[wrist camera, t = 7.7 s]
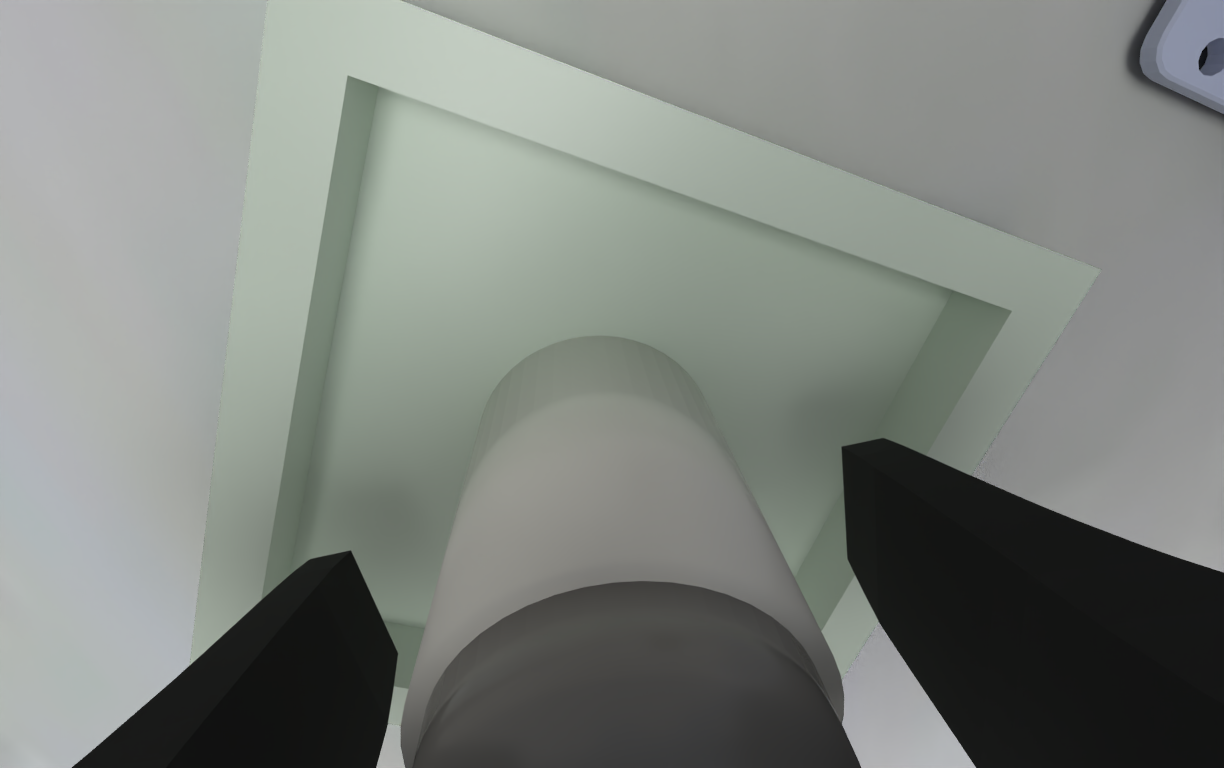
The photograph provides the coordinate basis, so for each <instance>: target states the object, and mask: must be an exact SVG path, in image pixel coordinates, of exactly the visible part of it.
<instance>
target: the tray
mask: <svg viewBox="0 0 1224 768" xmlns="http://www.w3.org/2000/svg"><path fill="white" fill-rule="evenodd" d="M1100 272H1101V269H1099V268H1096V267H1094V266H1091V265H1088V264H1086V263H1083V262H1081V261H1078V260H1075V259H1073V258H1070V257H1068V256H1065V255H1062V254H1060V253H1057V252H1055V251H1052V250H1049V249H1047V248H1044V247H1042V246H1039V245H1036V244H1034V243H1031V242H1029V241H1026V240H1023V239H1021V238H1018V237H1016V236H1013V235H1010V234H1008V233H1005V232H1003V231H1000V230H997V229H995V228H992V227H989V226H987V225H984V224H982V223H979V222H976V221H974V220H971V219H969V218H966V217H963V216H961V215H958V214H956V213H953V212H950V211H948V210H945V209H943V208H940V207H937V206H935V205H932V204H930V203H927V202H924V201H922V200H919V199H917V198H914V197H911V196H909V195H906V194H904V193H901V192H898V191H896V190H893V189H891V188H888V187H885V186H883V185H880V184H878V183H875V182H872V181H870V180H867V179H865V178H862V177H859V176H857V175H854V174H851V173H849V172H846V171H844V170H841V169H838V168H836V167H833V166H831V165H828V164H825V163H823V162H820V161H818V160H815V159H812V158H810V157H807V156H805V155H802V154H799V153H797V152H794V151H792V150H789V149H786V148H784V147H781V146H779V145H776V144H773V143H771V142H768V141H766V140H763V139H760V138H758V137H755V136H753V135H750V134H747V133H745V132H742V131H740V130H737V129H734V128H732V127H729V126H727V125H724V124H721V123H719V122H716V121H713V120H711V119H708V118H706V117H703V116H700V115H698V114H695V113H693V112H690V111H687V110H685V109H682V108H680V107H677V106H674V105H672V104H669V103H667V102H664V101H661V100H659V99H656V98H654V97H651V96H648V95H646V94H643V93H641V92H638V91H635V90H633V89H630V88H628V87H625V86H622V85H620V84H617V83H615V82H612V81H609V80H607V79H604V78H602V77H599V76H596V75H594V74H591V73H589V72H586V71H583V70H581V69H578V68H575V67H573V66H570V65H568V64H565V63H562V62H560V61H557V60H555V59H552V58H549V57H547V56H544V55H542V54H539V53H536V52H534V51H531V50H529V49H526V48H523V47H521V46H518V45H516V44H513V43H510V42H508V41H505V40H503V39H500V38H497V37H495V36H492V35H490V34H487V33H484V32H482V31H479V30H477V29H474V28H471V27H469V26H466V25H464V24H461V23H458V22H456V21H453V20H451V19H448V18H445V17H443V16H440V15H437V14H435V13H432V12H430V11H427V10H424V9H422V8H419V7H417V6H414V5H411V4H409V3H406V2H404V1H401V0H267V7H266V16H265V24H264V33H263V42H262V50H261V59H260V67H259V76H258V84H257V93H256V101H255V110H254V118H253V127H252V136H251V144H250V153H249V161H248V170H247V178H246V187H245V195H244V204H243V212H242V221H241V230H240V238H239V247H238V255H237V264H236V272H235V281H234V289H233V298H232V306H231V315H230V323H229V332H228V341H227V349H226V358H225V366H224V375H223V383H222V392H221V400H220V409H219V417H218V426H217V435H216V443H215V452H214V460H213V469H212V477H211V486H210V494H209V503H208V511H207V520H206V529H205V537H204V546H203V554H202V563H201V571H200V580H199V588H198V597H197V605H196V614H195V622H194V631H193V640H192V648H191V657H190V665H191V664H192V663H193V662H194V661H195V660H196V659H197V658H199V657H200V656H201V655H202V654H203V653H204V652H205V651H206V650H207V649H208V648H209V647H211V646H212V645H213V644H214V643H215V642H216V641H217V640H218V639H219V638H220V637H222V636H223V635H224V634H225V633H226V632H227V631H228V630H229V629H230V628H231V627H232V626H234V625H235V624H236V623H237V622H238V621H239V620H240V619H241V618H242V617H243V616H244V615H246V614H247V613H248V612H249V611H250V610H251V609H252V608H253V607H254V606H255V605H256V604H258V603H259V602H260V601H261V600H262V599H263V598H264V597H265V596H266V595H268V594H269V593H270V592H271V591H272V590H273V589H274V588H275V587H276V586H278V585H279V584H280V583H281V582H282V581H283V580H285V579H286V578H287V577H288V576H289V575H290V574H292V573H293V572H294V571H295V570H296V569H298V568H299V567H300V566H302V565H303V564H304V563H305V562H307V561H308V560H309V559H312V558H317V557H322V556H326V555H331V554H336V553H341V552H345V551H350V550H351V551H352V554H353V556H354V558H355V560H356V562H357V564H358V567H359V569H360V571H361V573H362V575H363V578H364V580H365V582H366V584H367V586H368V588H369V591H370V593H371V595H372V597H373V599H374V602H375V604H376V606H377V608H378V610H379V612H380V615H381V617H382V619H383V621H384V623H385V626H386V628H387V630H388V632H389V634H390V636H391V639H392V641H393V643H394V645H395V647H396V650H397V652H398V659H397V666H396V674H395V682H394V689H393V696H392V702H391V708H390V714H389V720H388V724H392V725H399V726H401V721H402V715H403V710H404V704H405V700H406V697H407V693H408V689H409V686H410V682H411V678H412V674H413V671H414V667H415V663H416V659H417V656H418V652H419V648H420V644H421V641H422V637H423V633H424V630H425V626H426V622H427V618H428V615H429V611H430V607H431V603H432V600H433V596H434V592H435V588H436V585H437V581H438V577H439V574H440V570H441V566H442V562H443V559H444V555H445V551H446V547H447V544H448V540H449V536H450V532H451V529H452V525H453V521H454V518H455V514H456V510H457V506H458V503H459V499H460V495H461V491H462V488H463V484H464V480H465V477H466V473H467V469H468V465H469V462H470V458H471V454H472V450H473V447H474V443H475V439H476V435H477V432H478V428H479V424H480V421H481V417H482V414H483V411H484V409H485V406H486V403H487V401H488V400H489V398H490V396H491V394H492V392H493V390H494V389H495V388H496V386H497V385H498V384H499V382H500V381H501V380H502V378H503V377H504V376H505V375H506V374H507V373H508V372H509V371H510V370H511V369H512V368H513V367H514V366H516V365H517V364H518V363H519V362H521V361H522V360H523V359H525V358H526V357H528V356H529V355H531V354H533V353H535V352H536V351H538V350H540V349H542V348H544V347H547V346H549V345H551V344H554V343H557V342H560V341H564V340H568V339H572V338H578V337H585V336H612V337H621V338H625V339H630V340H634V341H637V342H640V343H643V344H646V345H648V346H651V347H653V348H655V349H657V350H658V351H660V352H662V353H664V354H666V355H667V356H668V357H670V358H671V359H673V360H674V361H676V362H677V363H678V364H679V365H680V366H681V367H682V368H683V369H684V370H685V371H686V372H687V373H688V374H689V375H690V376H691V378H692V379H693V380H694V381H695V383H696V384H697V386H698V387H699V389H700V391H701V392H702V394H703V396H704V398H705V400H706V402H707V404H708V406H709V408H710V410H711V412H712V414H713V416H714V418H715V420H716V422H717V424H718V426H719V428H720V430H721V432H722V434H723V436H724V438H725V440H726V442H727V444H728V446H729V448H730V450H731V452H732V454H733V456H734V458H735V460H736V462H737V464H738V466H739V468H740V470H741V472H742V474H743V476H744V478H745V480H746V482H747V484H748V486H749V488H750V490H751V492H752V494H753V496H754V498H755V500H756V502H757V504H758V506H759V508H760V510H761V512H762V514H763V516H764V518H765V520H766V522H767V524H768V526H769V528H770V530H771V532H772V534H773V536H774V538H775V540H776V542H777V544H778V546H779V548H780V550H781V552H782V554H783V556H784V558H785V560H786V562H787V564H788V566H789V568H790V570H791V572H792V574H793V576H794V578H795V580H796V582H797V584H798V586H799V588H800V590H801V592H802V594H803V596H804V598H805V600H806V602H807V604H808V606H809V608H810V610H811V612H812V614H813V616H814V618H815V620H816V622H817V624H818V626H819V628H820V630H821V632H822V634H823V636H824V638H825V640H826V642H827V644H828V646H829V648H830V650H831V652H832V654H833V656H834V659H835V661H836V664H837V667H838V669H839V672H840V675H841V680H842V679H843V677H844V676H845V674H846V672H847V671H848V669H849V668H850V666H851V665H852V663H853V661H854V660H855V658H856V657H857V655H858V654H859V652H860V650H861V649H862V647H863V646H864V644H865V643H866V641H867V639H868V638H869V636H870V635H871V633H872V631H873V630H874V628H875V627H876V625H877V624H878V622H879V621H878V619H877V617H876V615H875V613H874V611H873V609H872V608H871V606H870V604H869V602H868V600H867V598H866V596H865V594H864V592H863V590H862V588H861V586H860V584H859V582H858V580H857V578H856V576H855V574H854V572H853V570H852V568H851V566H850V563H849V561H848V559H847V544H846V525H845V506H844V487H843V468H842V449H841V447H842V446H847V445H852V444H856V443H861V442H866V441H870V440H875V439H880V438H885V439H888V440H891V441H893V442H896V443H898V444H901V445H903V446H906V447H908V448H910V449H913V450H915V451H917V452H919V453H922V454H924V455H926V456H928V457H931V458H933V459H935V460H937V461H940V462H942V463H944V464H946V465H948V466H951V467H953V468H955V469H957V470H960V471H962V472H964V473H966V474H968V475H972V474H973V472H974V471H975V469H976V467H977V466H978V464H979V463H980V461H981V460H982V458H983V456H984V455H985V453H986V452H987V450H988V449H989V447H990V445H991V444H992V442H993V441H994V439H995V437H996V436H997V434H998V433H999V431H1000V430H1001V428H1002V426H1003V425H1004V423H1005V422H1006V420H1007V419H1008V417H1009V415H1010V414H1011V412H1012V411H1013V409H1014V408H1015V406H1016V404H1017V403H1018V401H1019V400H1020V398H1021V396H1022V395H1023V393H1024V392H1025V390H1026V389H1027V387H1028V385H1029V384H1030V382H1031V381H1032V379H1033V378H1034V376H1035V374H1036V373H1037V371H1038V370H1039V368H1040V367H1041V365H1042V363H1043V362H1044V360H1045V359H1046V357H1047V355H1048V354H1049V352H1050V351H1051V349H1052V348H1053V346H1054V344H1055V343H1056V341H1057V340H1058V338H1059V337H1060V335H1061V333H1062V332H1063V330H1064V329H1065V327H1066V326H1067V324H1068V322H1069V321H1070V319H1071V318H1072V316H1073V314H1074V313H1075V311H1076V310H1077V308H1078V307H1079V305H1080V303H1081V302H1082V300H1083V299H1084V297H1085V296H1086V294H1087V292H1088V291H1089V289H1090V288H1091V286H1092V284H1093V283H1094V281H1095V280H1096V278H1097V277H1098V275H1099V273H1100ZM190 665H189V666H190Z"/></svg>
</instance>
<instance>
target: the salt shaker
mask: <svg viewBox="0 0 1224 768" xmlns="http://www.w3.org/2000/svg"><path fill="white" fill-rule="evenodd" d="M843 716H844V692H843V686H842V680H841V675H840V672H839V669H838V667H837V664H836V661H835V659H834V656H833V654H832V652H831V650H830V648H829V646H828V644H827V642H826V640H825V638H824V636H823V634H822V632H821V630H820V628H819V626H818V624H817V622H816V620H815V618H814V616H813V614H812V612H811V610H810V608H809V606H808V604H807V602H806V600H805V598H804V596H803V594H802V592H801V590H800V588H799V586H798V584H797V582H796V580H795V578H794V576H793V574H792V572H791V570H790V568H789V566H788V564H787V562H786V560H785V558H784V556H783V554H782V552H781V550H780V548H779V546H778V544H777V542H776V540H775V538H774V536H773V534H772V532H771V530H770V528H769V526H768V524H767V522H766V520H765V518H764V516H763V514H762V512H761V510H760V508H759V506H758V504H757V502H756V500H755V498H754V496H753V494H752V492H751V490H750V488H749V486H748V484H747V482H746V480H745V478H744V476H743V474H742V472H741V470H740V468H739V466H738V464H737V462H736V460H735V458H734V456H733V454H732V452H731V450H730V448H729V446H728V444H727V442H726V440H725V438H724V436H723V434H722V432H721V430H720V428H719V426H718V424H717V422H716V420H715V418H714V416H713V414H712V412H711V410H710V408H709V406H708V404H707V402H706V400H705V398H704V396H703V394H702V392H701V391H700V389H699V387H698V386H697V384H696V383H695V381H694V380H693V379H692V378H691V376H690V375H689V374H688V373H687V372H686V371H685V370H684V369H683V368H682V367H681V366H680V365H679V364H678V363H677V362H676V361H674V360H673V359H671V358H670V357H668V356H667V355H666V354H664V353H662V352H660V351H658V350H657V349H655V348H653V347H651V346H648V345H646V344H643V343H640V342H637V341H634V340H630V339H625V338H621V337H612V336H585V337H578V338H572V339H568V340H564V341H560V342H557V343H554V344H551V345H549V346H547V347H544V348H542V349H540V350H538V351H536V352H535V353H533V354H531V355H529V356H528V357H526V358H525V359H523V360H522V361H521V362H519V363H518V364H517V365H516V366H514V367H513V368H512V369H511V370H510V371H509V372H508V373H507V374H506V375H505V376H504V377H503V378H502V380H501V381H500V382H499V384H498V385H497V386H496V388H495V389H494V390H493V392H492V394H491V396H490V398H489V400H488V401H487V403H486V406H485V409H484V411H483V414H482V417H481V421H480V424H479V428H478V432H477V435H476V439H475V443H474V447H473V450H472V454H471V458H470V462H469V465H468V469H467V473H466V477H465V480H464V484H463V488H462V491H461V495H460V499H459V503H458V506H457V510H456V514H455V518H454V521H453V525H452V529H451V532H450V536H449V540H448V544H447V547H446V551H445V555H444V559H443V562H442V566H441V570H440V574H439V577H438V581H437V585H436V588H435V592H434V596H433V600H432V603H431V607H430V611H429V615H428V618H427V622H426V626H425V630H424V633H423V637H422V641H421V644H420V648H419V652H418V656H417V659H416V663H415V667H414V671H413V674H412V678H411V682H410V686H409V689H408V693H407V697H406V700H405V704H404V710H403V715H402V721H401V749H402V754H403V759H404V764H405V768H861V766H860V764H859V761H858V759H857V757H856V755H855V752H854V750H853V748H852V746H851V744H850V741H849V739H848V737H847V735H846V733H845V731H844V728H843V726H842V721H843Z"/></svg>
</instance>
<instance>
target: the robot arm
mask: <svg viewBox="0 0 1224 768" xmlns="http://www.w3.org/2000/svg"><path fill="white" fill-rule="evenodd" d="M1206 46H1207V49H1208V57H1207V59H1206V62H1205V64H1204V66H1203V67H1202V68H1201V69H1200V70H1199V63H1198V60H1199V58H1200V55H1201V52H1202V50H1203V49H1204V48H1205V47H1206ZM1140 65H1141V68H1142V71H1143V74H1145V75H1146V76H1147V77H1148V78H1149V79H1150V80H1152V81H1154V82H1156V83H1158V84H1160V85H1162V86H1165V87H1167V88H1169V89H1171V90H1173V91H1175V92H1177V93H1180V94H1182V95H1184V96H1186V97H1188V98H1190V99H1192V100H1194V101H1197V102H1199V103H1201V104H1203V105H1205V106H1207V107H1209V108H1212V109H1214V110H1216V111H1218V112H1220V113H1222V114H1224V0H1166V2H1165V4H1164V6H1163V7H1162V9H1161V11H1160V13H1159V14H1158V16H1157V18H1156V19H1155V21H1154V23H1153V25H1152V26H1151V28H1150V30H1149V32H1148V33H1147V35H1146V37H1145V40H1144V42H1143V45H1142V47H1141V51H1140ZM841 449H842V468H843V487H844V506H845V525H846V544H847V559H848V561H849V563H850V566H851V568H852V570H853V572H854V574H855V576H856V578H857V580H858V582H859V584H860V586H861V588H862V590H863V592H864V594H865V596H866V598H867V600H868V602H869V604H870V606H871V608H872V609H873V611H874V613H875V615H876V617H877V619H878V621H879V623H880V624H881V626H882V627H883V629H884V630H885V632H886V633H887V635H888V636H889V638H890V640H891V641H892V643H893V644H894V646H895V647H896V649H897V650H898V652H899V653H900V655H901V656H902V658H903V659H904V661H905V662H906V664H907V665H908V667H909V668H910V670H911V671H912V673H913V674H914V676H915V677H916V679H917V680H918V682H919V683H920V685H921V686H922V688H923V689H924V691H925V692H926V694H927V695H928V697H929V698H930V700H931V701H932V702H933V704H934V705H935V707H936V708H937V710H938V711H939V713H940V714H941V716H942V717H943V719H944V720H945V722H946V723H947V725H948V726H949V728H950V729H951V731H952V732H953V734H954V735H955V737H956V738H957V740H958V741H959V743H960V744H961V746H962V747H963V749H964V750H965V752H966V753H967V755H968V756H969V758H970V759H971V761H972V762H973V764H974V765H975V766H976V768H1224V573H1223V572H1220V571H1217V570H1214V569H1211V568H1208V567H1204V566H1201V565H1198V564H1195V563H1192V562H1189V561H1186V560H1183V559H1180V558H1177V557H1174V556H1171V555H1168V554H1165V553H1162V552H1159V551H1157V550H1154V549H1151V548H1148V547H1145V546H1142V545H1140V544H1137V543H1134V542H1131V541H1129V540H1126V539H1124V538H1121V537H1118V536H1116V535H1113V534H1111V533H1108V532H1105V531H1103V530H1100V529H1097V528H1095V527H1092V526H1090V525H1087V524H1084V523H1082V522H1079V521H1077V520H1074V519H1071V518H1069V517H1066V516H1064V515H1062V514H1059V513H1057V512H1054V511H1052V510H1049V509H1047V508H1044V507H1042V506H1040V505H1037V504H1035V503H1033V502H1030V501H1028V500H1025V499H1023V498H1021V497H1018V496H1016V495H1014V494H1011V493H1009V492H1007V491H1005V490H1002V489H1000V488H998V487H995V486H993V485H991V484H989V483H986V482H984V481H982V480H980V479H977V478H975V477H973V476H971V475H968V474H966V473H964V472H962V471H960V470H957V469H955V468H953V467H951V466H948V465H946V464H944V463H942V462H940V461H937V460H935V459H933V458H931V457H928V456H926V455H924V454H922V453H919V452H917V451H915V450H913V449H910V448H908V447H906V446H903V445H901V444H898V443H896V442H893V441H891V440H888V439H885V438H880V439H875V440H870V441H866V442H861V443H856V444H852V445H847V446H842V447H841ZM397 659H398V652H397V650H396V647H395V645H394V643H393V641H392V639H391V636H390V634H389V632H388V630H387V628H386V626H385V623H384V621H383V619H382V617H381V615H380V612H379V610H378V608H377V606H376V604H375V602H374V599H373V597H372V595H371V593H370V591H369V588H368V586H367V584H366V582H365V580H364V578H363V575H362V573H361V571H360V569H359V567H358V564H357V562H356V560H355V558H354V556H353V554H352V551H351V550H350V551H345V552H341V553H336V554H331V555H326V556H322V557H317V558H312V559H309V560H308V561H307V562H305V563H304V564H303V565H302V566H300V567H299V568H298V569H296V570H295V571H294V572H293V573H292V574H290V575H289V576H288V577H287V578H286V579H285V580H283V581H282V582H281V583H280V584H279V585H278V586H276V587H275V588H274V589H273V590H272V591H271V592H270V593H269V594H268V595H266V596H265V597H264V598H263V599H262V600H261V601H260V602H259V603H258V604H256V605H255V606H254V607H253V608H252V609H251V610H250V611H249V612H248V613H247V614H246V615H244V616H243V617H242V618H241V619H240V620H239V621H238V622H237V623H236V624H235V625H234V626H232V627H231V628H230V629H229V630H228V631H227V632H226V633H225V634H224V635H223V636H222V637H220V638H219V639H218V640H217V641H216V642H215V643H214V644H213V645H212V646H211V647H209V648H208V649H207V650H206V651H205V652H204V653H203V654H202V655H201V656H200V657H199V658H197V659H196V660H195V661H194V662H193V663H192V664H191V665H190V666H189V667H188V668H187V669H185V670H184V671H183V672H182V673H181V674H180V675H179V676H178V677H177V678H175V679H174V680H173V681H172V682H171V683H170V684H169V685H167V686H166V687H165V688H164V689H163V690H162V691H161V692H159V693H158V694H157V695H156V696H155V697H154V698H152V699H151V700H150V701H149V702H148V703H147V704H146V705H144V706H143V707H142V708H141V709H140V710H139V711H137V712H136V713H135V714H134V715H133V716H132V717H130V718H129V719H128V720H127V721H126V722H125V723H124V724H122V725H121V726H120V727H119V728H118V729H117V730H115V731H114V732H113V733H112V734H111V735H110V736H109V737H107V738H106V739H105V740H104V741H103V742H102V743H100V744H99V745H98V746H97V747H96V748H95V749H93V750H92V751H91V752H90V753H89V754H88V755H86V756H85V757H84V758H83V759H82V760H80V761H79V762H78V763H77V764H75V765H74V766H73V767H72V768H376V766H377V762H378V759H379V755H380V751H381V748H382V744H383V740H384V736H385V733H386V729H387V725H388V720H389V714H390V708H391V702H392V696H393V689H394V682H395V674H396V666H397Z"/></svg>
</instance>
